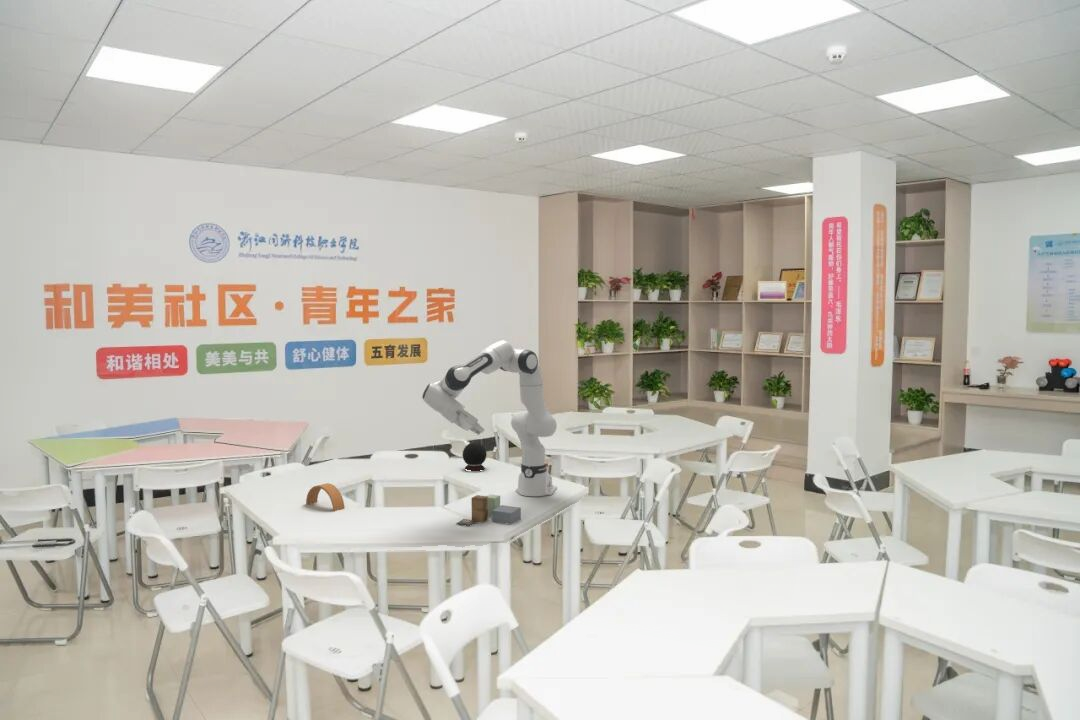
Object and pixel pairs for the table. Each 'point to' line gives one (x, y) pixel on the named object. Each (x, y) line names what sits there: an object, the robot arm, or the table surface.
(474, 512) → the walnut block
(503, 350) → the robot arm
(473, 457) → the snow globe
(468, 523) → the card
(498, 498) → the sage green block
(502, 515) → the slate base block
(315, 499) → the orange brown arch
